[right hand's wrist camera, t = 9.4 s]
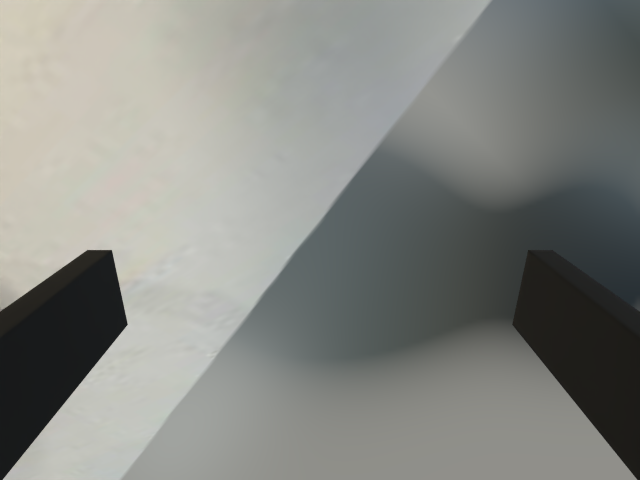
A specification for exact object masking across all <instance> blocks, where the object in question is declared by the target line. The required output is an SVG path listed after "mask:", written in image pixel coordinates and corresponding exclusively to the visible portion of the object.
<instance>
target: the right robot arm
mask: <svg viewBox="0 0 640 480" xmlns="http://www.w3.org/2000/svg"><path fill="white" fill-rule="evenodd" d="M127 325H128V324H127V319H126V315H125V310H124V305H123V301H122V296H121V291H120V287H119V282H118V277H117V272H116V268H115V263H114V258H113V254H112V250H87V251H86V252H84V253H83V254H81V255H80V256H79V257H77V258H76V259H74V260H73V261H71V262H70V263H69V264H67V265H66V266H64V267H63V268H62V269H60V270H59V271H57V272H56V273H54V274H53V275H52V276H50V277H49V278H47V279H46V280H45V281H43V282H42V283H40V284H39V285H37V286H36V287H35V288H33V289H32V290H30V291H29V292H28V293H26V294H25V295H23V296H22V297H20V298H19V299H18V300H16V301H15V302H13V303H12V304H11V305H9V306H8V307H6V308H5V309H3V310H2V311H1V312H0V480H3V478H4V477H5V476H6V475H7V473H8V472H9V471H10V470H11V469H12V467H13V466H14V465H15V464H16V462H17V461H18V460H19V459H20V457H21V456H22V455H23V454H24V452H25V451H26V450H27V449H28V447H29V446H30V445H31V444H32V443H33V441H34V440H35V439H36V438H37V436H38V435H39V434H40V433H41V431H42V430H43V429H44V428H45V426H46V425H47V424H48V423H49V421H50V420H51V419H52V418H53V416H54V415H55V414H56V413H57V412H58V410H59V409H60V408H61V407H62V405H63V404H64V403H65V402H66V400H67V399H68V398H69V397H70V395H71V394H72V393H73V392H74V390H75V389H76V388H77V387H78V385H79V384H80V383H81V382H82V381H83V379H84V378H85V377H86V376H87V374H88V373H89V372H90V371H91V369H92V368H93V367H94V366H95V364H96V363H97V362H98V361H99V359H100V358H101V357H102V356H103V355H104V353H105V352H106V351H107V350H108V348H109V347H110V346H111V345H112V343H113V342H114V341H115V340H116V338H117V337H118V336H119V335H120V333H121V332H122V331H123V330H124V328H125V327H126V326H127ZM513 326H514V327H515V328H516V330H517V331H518V332H519V333H520V335H521V336H522V337H523V338H524V340H525V341H526V342H527V343H528V345H529V346H530V347H531V348H532V350H533V351H534V352H535V353H536V355H537V356H538V357H539V358H540V359H541V361H542V362H543V363H544V364H545V366H546V367H547V368H548V369H549V371H550V372H551V373H552V374H553V376H554V377H555V378H556V379H557V381H558V382H559V383H560V384H561V385H562V387H563V388H564V389H565V390H566V392H567V393H568V394H569V395H570V397H571V398H572V399H573V400H574V402H575V403H576V404H577V405H578V407H579V408H580V409H581V410H582V412H583V413H584V414H585V415H586V416H587V418H588V419H589V420H590V421H591V423H592V424H593V425H594V426H595V428H596V429H597V430H598V431H599V433H600V434H601V435H602V436H603V437H604V439H605V440H606V441H607V442H608V444H609V445H610V446H611V447H612V449H613V450H614V451H615V452H616V454H617V455H618V456H619V457H620V459H621V460H622V461H623V462H624V464H625V465H626V466H627V467H628V468H629V470H630V471H631V472H632V473H633V475H634V476H635V477H636V478H637V480H640V312H639V311H638V310H637V309H635V308H634V307H632V306H631V305H629V304H628V303H627V302H625V301H624V300H622V299H621V298H620V297H618V296H617V295H615V294H614V293H612V292H611V291H610V290H608V289H607V288H605V287H604V286H602V285H601V284H600V283H598V282H597V281H595V280H594V279H593V278H591V277H590V276H588V275H587V274H586V273H584V272H583V271H581V270H580V269H578V268H577V267H576V266H574V265H573V264H571V263H570V262H569V261H567V260H566V259H564V258H563V257H561V256H560V255H559V254H557V253H556V252H554V251H553V250H528V254H527V258H526V263H525V268H524V272H523V277H522V282H521V287H520V292H519V296H518V301H517V305H516V310H515V315H514V319H513Z"/></svg>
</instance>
